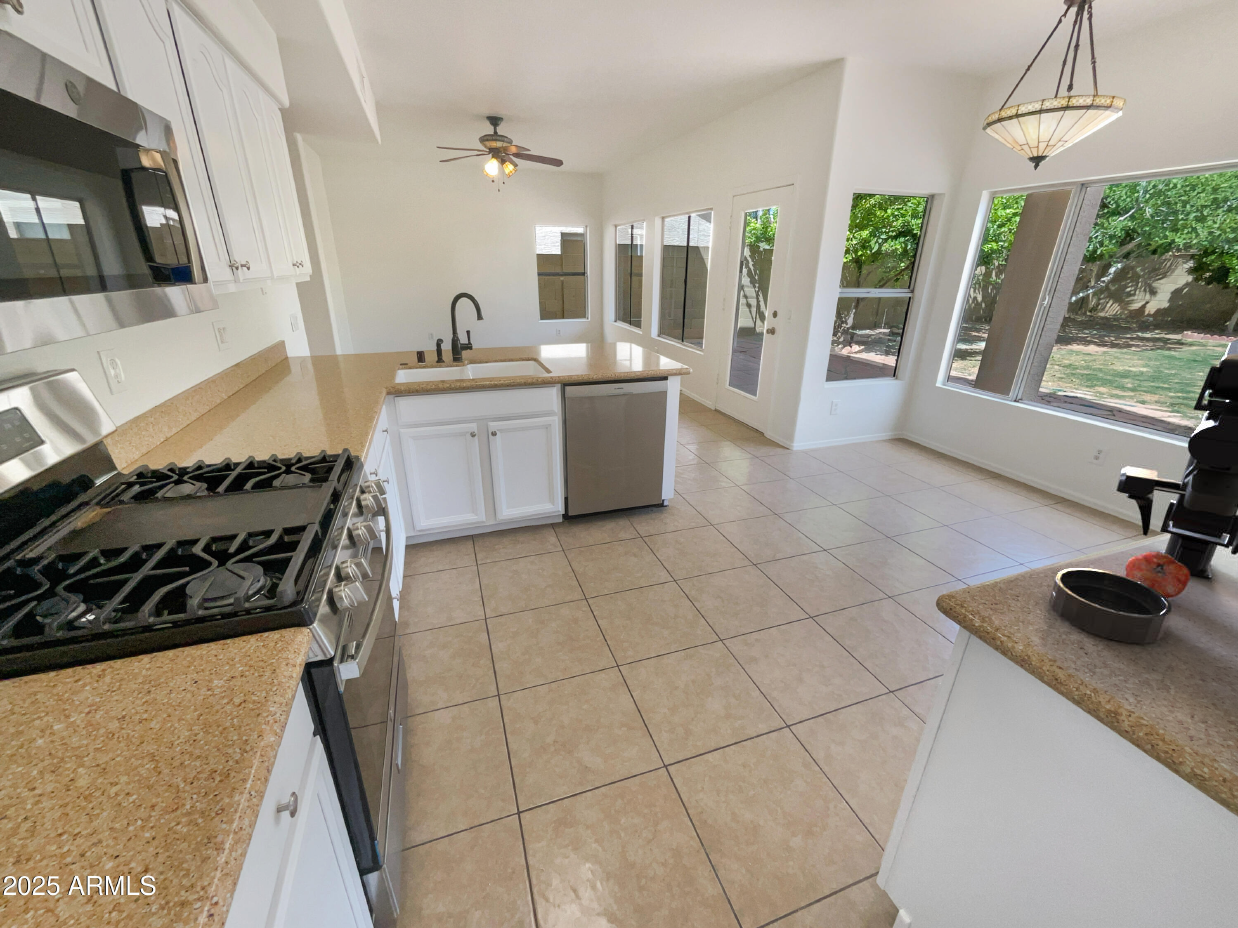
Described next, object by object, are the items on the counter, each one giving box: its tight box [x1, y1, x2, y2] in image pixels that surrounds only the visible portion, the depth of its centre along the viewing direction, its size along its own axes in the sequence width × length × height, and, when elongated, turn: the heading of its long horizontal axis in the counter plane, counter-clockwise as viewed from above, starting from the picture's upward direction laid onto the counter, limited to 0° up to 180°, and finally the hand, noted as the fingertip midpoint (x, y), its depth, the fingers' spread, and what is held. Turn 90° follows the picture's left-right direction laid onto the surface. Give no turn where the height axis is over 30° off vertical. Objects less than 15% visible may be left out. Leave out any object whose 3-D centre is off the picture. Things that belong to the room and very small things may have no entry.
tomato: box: [1125, 551, 1191, 599], centre depth 85 cm, size 7×7×10 cm
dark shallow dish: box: [1048, 567, 1173, 644], centre depth 80 cm, size 13×13×5 cm
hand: (1187, 543), depth 78 cm, fingers open, 9 cm apart
